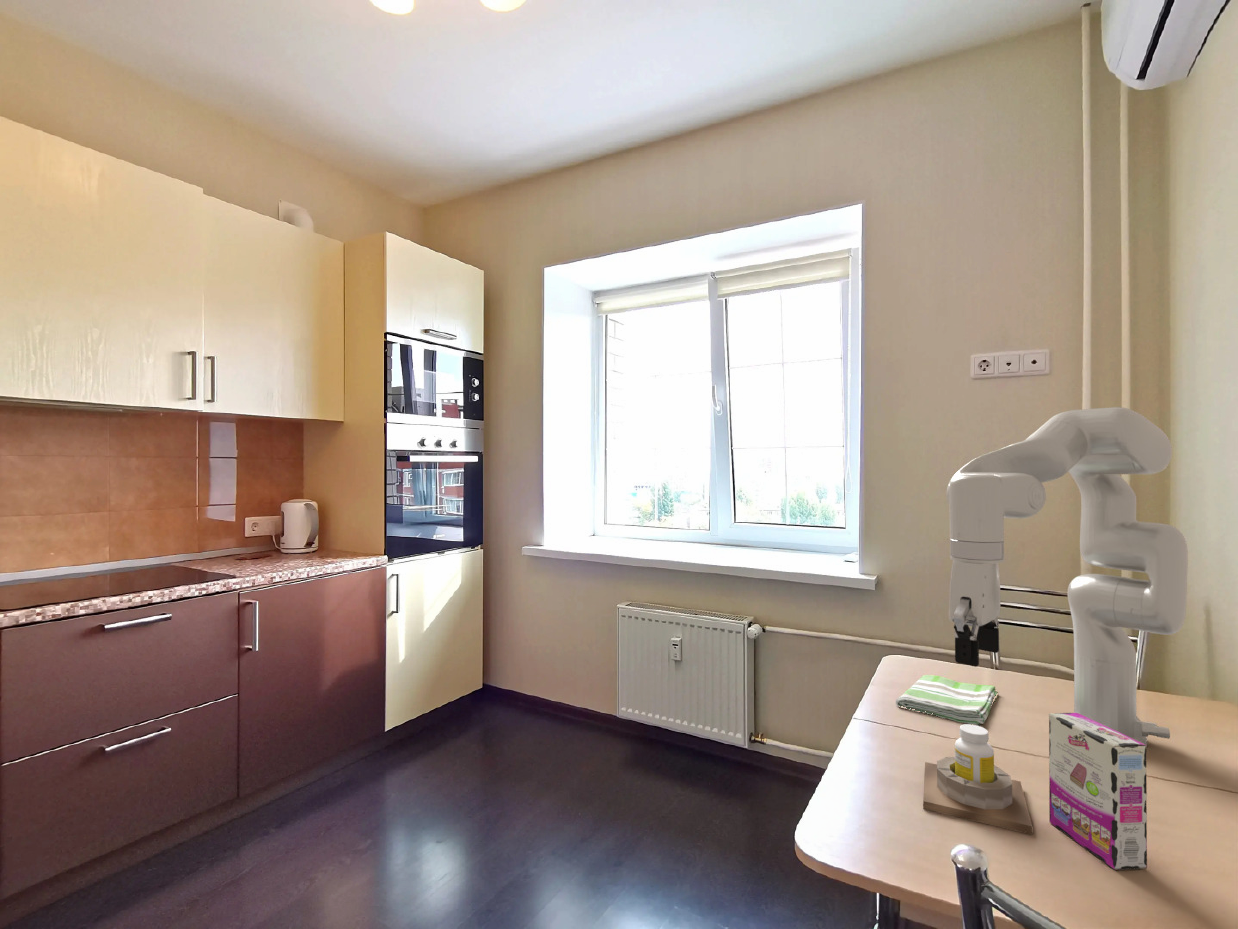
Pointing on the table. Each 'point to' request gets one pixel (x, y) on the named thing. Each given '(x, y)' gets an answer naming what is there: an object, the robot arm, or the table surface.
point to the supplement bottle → (974, 755)
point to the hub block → (976, 797)
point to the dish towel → (949, 699)
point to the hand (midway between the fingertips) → (977, 657)
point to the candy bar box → (1098, 789)
